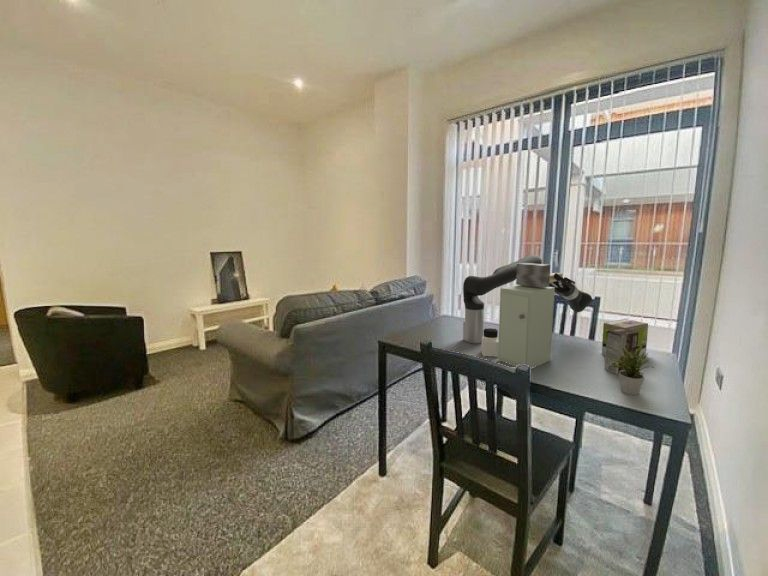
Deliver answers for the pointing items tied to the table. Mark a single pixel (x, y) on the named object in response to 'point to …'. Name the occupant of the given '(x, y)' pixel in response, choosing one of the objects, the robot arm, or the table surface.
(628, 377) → the house plant
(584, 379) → the table surface
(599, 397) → the table surface
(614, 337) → the coffee box
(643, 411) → the table surface
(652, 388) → the table surface
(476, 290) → the robot arm
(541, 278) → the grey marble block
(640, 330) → the tea box
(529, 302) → the cabinet
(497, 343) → the medicine bottle
